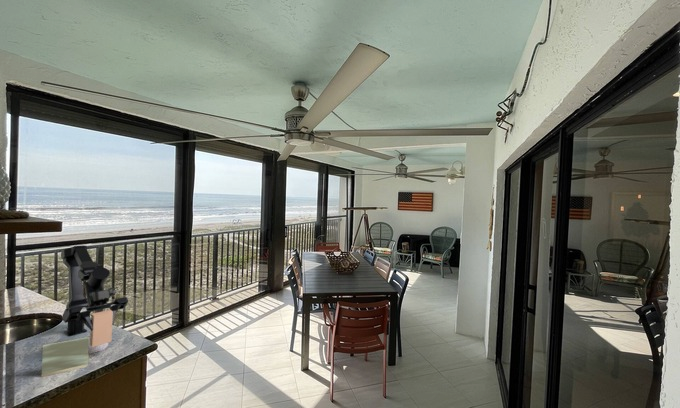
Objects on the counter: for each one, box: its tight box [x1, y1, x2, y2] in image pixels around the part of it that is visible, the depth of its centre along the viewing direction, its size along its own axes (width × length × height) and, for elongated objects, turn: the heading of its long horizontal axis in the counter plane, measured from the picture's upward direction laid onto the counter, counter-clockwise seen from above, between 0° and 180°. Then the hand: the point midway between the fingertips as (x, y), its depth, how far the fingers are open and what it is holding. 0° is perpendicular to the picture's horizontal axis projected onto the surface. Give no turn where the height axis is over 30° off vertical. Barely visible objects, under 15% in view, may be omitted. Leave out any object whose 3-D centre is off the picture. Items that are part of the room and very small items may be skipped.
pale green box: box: [41, 336, 90, 378], centre depth 108 cm, size 10×12×11 cm
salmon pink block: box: [89, 309, 113, 347], centre depth 115 cm, size 3×6×12 cm, turn 144°
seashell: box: [88, 337, 110, 355], centre depth 122 cm, size 10×6×10 cm
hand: (102, 327), depth 114 cm, fingers closed on salmon pink block, 6 cm apart
